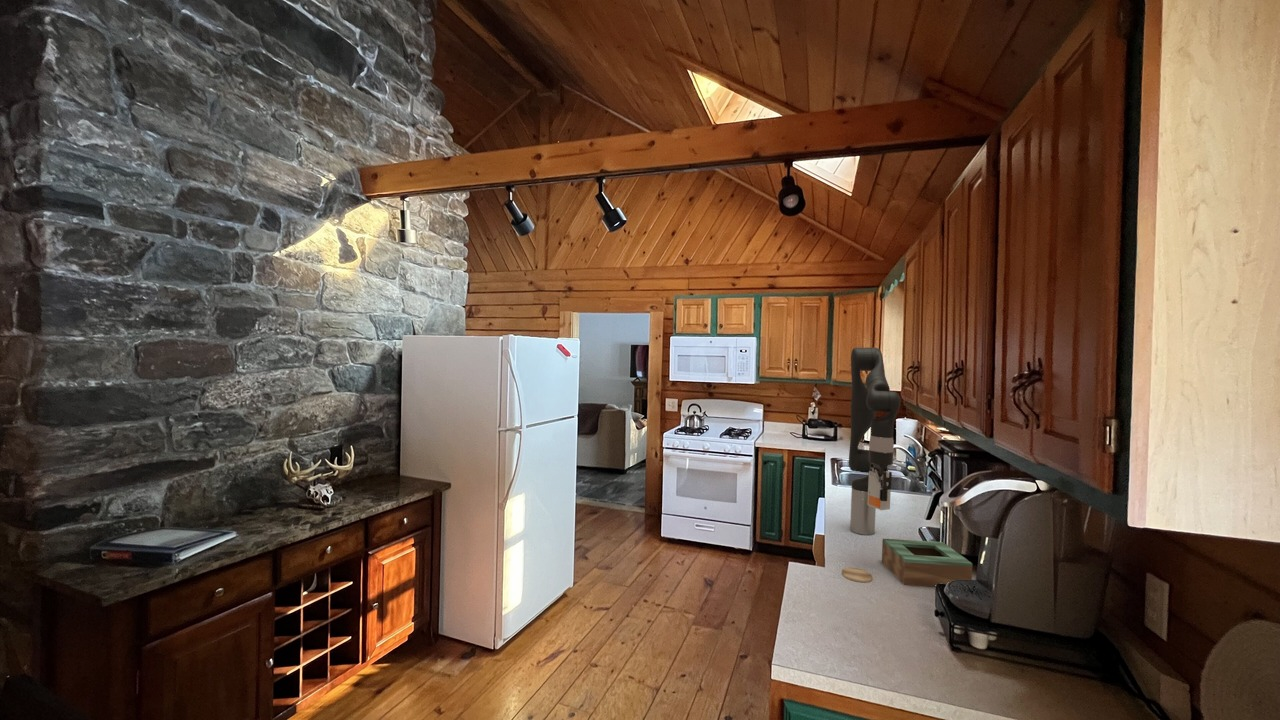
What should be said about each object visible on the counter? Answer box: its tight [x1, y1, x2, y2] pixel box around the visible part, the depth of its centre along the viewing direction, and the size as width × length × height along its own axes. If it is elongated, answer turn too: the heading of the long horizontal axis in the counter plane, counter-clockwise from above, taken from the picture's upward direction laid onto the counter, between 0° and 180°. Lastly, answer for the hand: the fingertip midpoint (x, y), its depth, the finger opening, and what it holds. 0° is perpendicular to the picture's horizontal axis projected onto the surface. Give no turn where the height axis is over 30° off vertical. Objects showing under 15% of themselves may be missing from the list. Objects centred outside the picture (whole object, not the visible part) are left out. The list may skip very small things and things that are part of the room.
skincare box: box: [867, 471, 892, 511], centre depth 174 cm, size 6×4×12 cm
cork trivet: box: [841, 567, 873, 583], centre depth 164 cm, size 9×9×1 cm
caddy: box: [881, 538, 973, 588], centre depth 167 cm, size 18×20×8 cm
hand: (879, 497), depth 174 cm, fingers closed on skincare box, 7 cm apart
